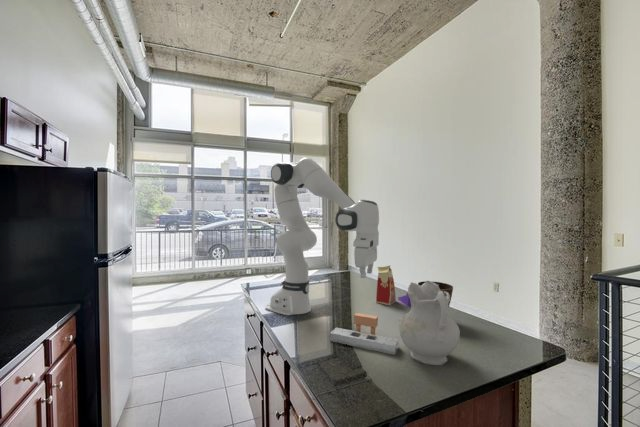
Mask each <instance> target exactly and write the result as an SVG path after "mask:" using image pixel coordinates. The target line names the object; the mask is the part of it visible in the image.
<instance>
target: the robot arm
mask: <svg viewBox="0 0 640 427" xmlns="http://www.w3.org/2000/svg"><path fill="white" fill-rule="evenodd" d="M270 179H271V180H272V182H273V183H274V184H276V185H274V199H275V205H276V208H277V212H278V216H279V220H280V222H281V224H283V225H284V226H285V227H286V229H287V230H286V231H284V232H281V233H280V234H279V235H278V237H276V241H275V242H276V248H277V249H278V251H279V252H280V253H281V255H282V256H283V259H284V260H283V261H284V264H285V280H283V281H281V282H280V285H282V286H281V288H280V289H279V290H277V291H276V292H274V293H273V294H272V295H271V298H270V302H269V303H268V304H266V305H265V308H264V309H265V310H267V311H270V312H272V313H273V312H274V313H277V314H280V315H284V316H292V315H304V314H308V313H309V312H311V311H312V307H311V303H310V297H309V296H310V295H309V292H310V280H309V263H308V262H307V261H306V260H305V256H304V252H307V251H309V250H311V249H313V248H314V247H315V246H316V245H317V241H318V240H317V238H318V237H317V234H316V233H315V232H314V231H313V230H312V229H311V227H310V226H309V225H308V223H307V221H306V220H305V217H304V215H303V212H302V207H301V205H300V202H299V197H298V195H297V189H302V188H303V187H305V188H306V189H307V190H308V191H309V192H310V193H311V194H313V196H316V197H318V198H319V197H320V198H323V199H326V200H329V201H332V203H333V202H334V203H335V204H336V205H337V206H339V208H340V209H339V210H338V211H337V213H336V214H335V218H334V222H335V225H336V227H337V228H338V230H340V231H343V232H356V234H355V239H354V240H353V243H352V246H353V247H354V249H353V250H354V252H353V253H354V255H353V256H354V265H355V268H359V272H360V278H361V279H365V278H366V277H367V274H372V273H373V268H374V262H377V260H378V246H379V244H380V243H379V242H380V241H379V240H380V239H379V235H380V233H379V224H380V212H379V206H378V203H377V202H375V201H373V200H366V199H360V200H358V201H356V202H355V200H353V199H352V198H351V197H350V196H349V195H348V194H347V193H346V192H345V191H344V190H343V189H342V188H341V187H340V186H339V185H338V184H337V183H336V182H335V181H334V180H333V179H332V178H331V176H330V175H329V174H328V173H327V172H326V171H325V170H324V169H323V167H322V166H320V165H319V164H318V163H317V162H316V161H315V160H313V159H312V158H310V157H303V158H302V159H300V160H299V161H298V162H295V161H294V162H293V161H292V162H287V161H286V162H285V161H284V162H283V161H281V162H277V163H275V164H273V166H272V167H271V170H270ZM366 272H367V273H366Z"/></svg>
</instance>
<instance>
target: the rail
mask: <svg viewBox="0 0 640 427" xmlns="http://www.w3.org/2000/svg"><path fill="white" fill-rule="evenodd" d="M332 341H333V343H337V342H338V344H341V345H346V344H347V345H348V346H352V347H355V348H357V347H358V348H362V349H366V350H371V351H376V352H379V353H380V352H381V353H384V354H390V355H394V356H396V354H397V351H398V349H399V339H398V338H393V337H389V336H382V335H378V334H375V335H373V334H371V333H367V332H357V331H356V330H351V329H346V328H341V327H335V328H334V329H333V330H331V331H330V332H329V342H332Z"/></svg>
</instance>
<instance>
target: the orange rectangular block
mask: <svg viewBox="0 0 640 427" xmlns="http://www.w3.org/2000/svg"><path fill="white" fill-rule="evenodd" d="M353 324H355V331H357V332H361V329H362V326H365V327H369V328H370V334H373V335H376V328H377V327H378V326H379V316H378V315H372V314H366V313H359V312H355V314H353Z"/></svg>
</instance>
